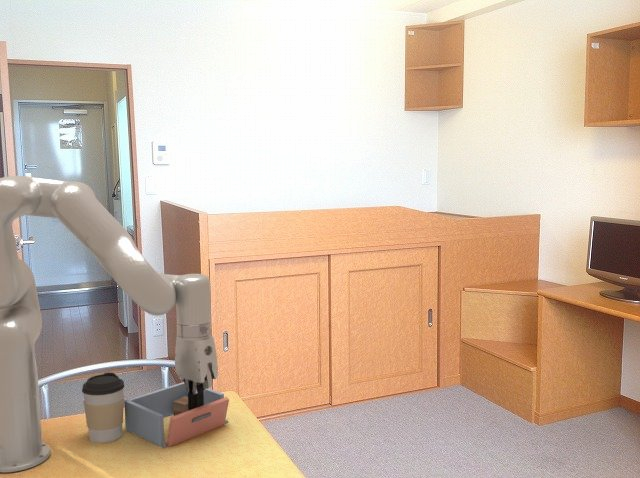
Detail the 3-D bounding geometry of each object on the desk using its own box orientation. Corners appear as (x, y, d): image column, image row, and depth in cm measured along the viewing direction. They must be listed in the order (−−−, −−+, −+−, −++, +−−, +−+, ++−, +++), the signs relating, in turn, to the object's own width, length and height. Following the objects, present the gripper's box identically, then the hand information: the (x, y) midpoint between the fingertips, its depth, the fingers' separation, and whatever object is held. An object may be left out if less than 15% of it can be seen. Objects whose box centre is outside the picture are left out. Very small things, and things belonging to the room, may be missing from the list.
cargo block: (185, 420, 153) (185, 404, 153) (173, 417, 155) (172, 401, 155) (197, 415, 156) (196, 399, 156) (185, 411, 158) (184, 396, 158)
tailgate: (170, 447, 138) (174, 420, 136) (166, 444, 139) (170, 417, 137) (225, 425, 150) (230, 400, 148) (221, 422, 151) (226, 397, 149)
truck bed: (164, 453, 138) (163, 418, 137) (125, 433, 148) (124, 400, 147) (228, 427, 151) (227, 395, 150) (188, 411, 161) (187, 380, 161)
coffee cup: (114, 451, 139) (110, 385, 137) (76, 448, 141) (73, 382, 139) (134, 434, 148) (131, 371, 146) (98, 431, 150) (95, 369, 148)
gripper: (229, 332, 140) (230, 412, 142) (186, 321, 150) (188, 396, 152) (202, 339, 134) (204, 422, 136) (159, 327, 144) (162, 405, 146)
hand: (196, 408), depth 144 cm, fingers closed
